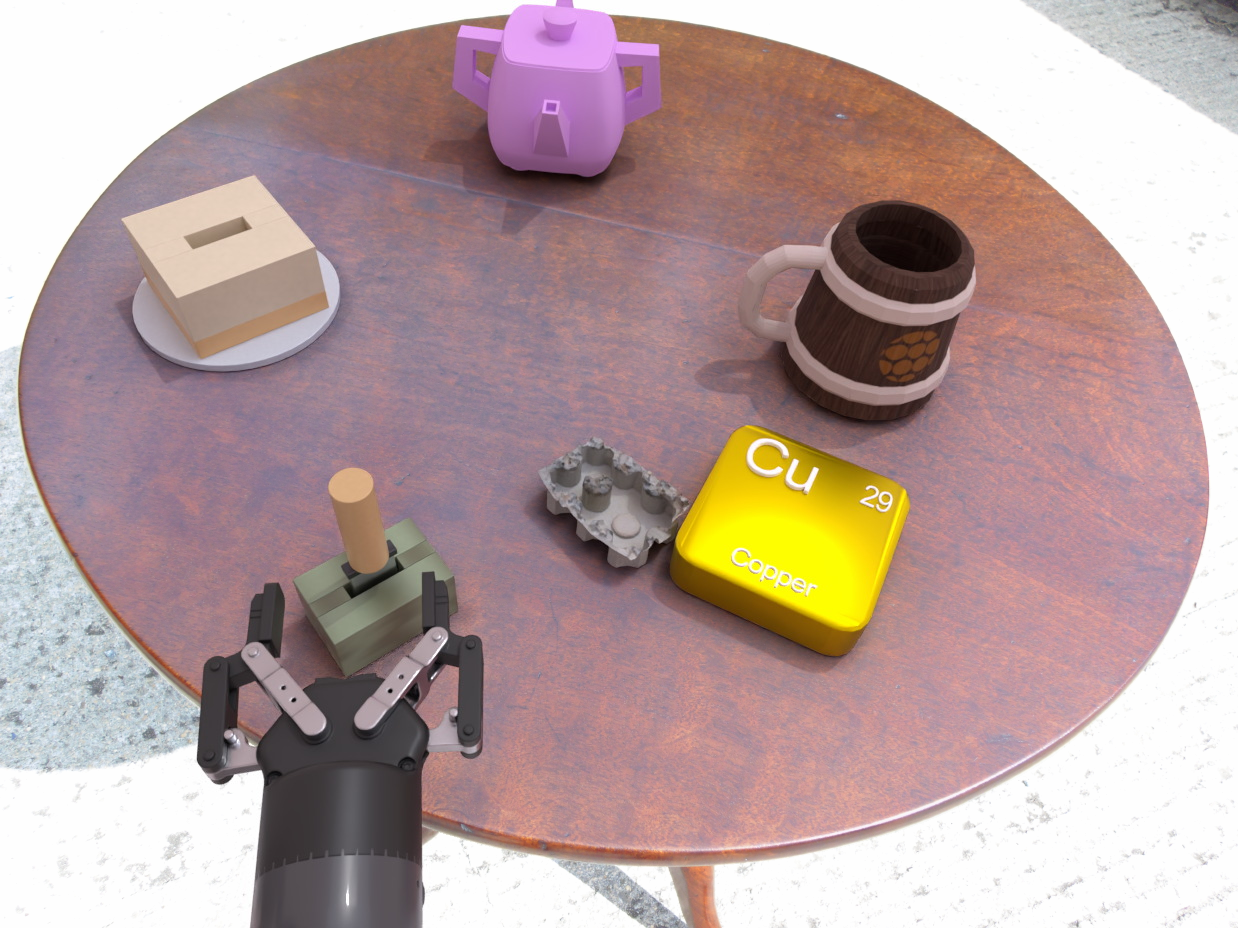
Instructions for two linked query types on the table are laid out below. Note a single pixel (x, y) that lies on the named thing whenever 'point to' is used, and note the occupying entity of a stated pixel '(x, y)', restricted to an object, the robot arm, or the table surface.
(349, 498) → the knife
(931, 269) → the mug
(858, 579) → the element tile
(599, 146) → the teapot
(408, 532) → the knife block
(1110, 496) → the table surface
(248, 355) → the plate
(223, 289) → the wooden slotted box
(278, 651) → the robot arm
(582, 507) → the egg carton
